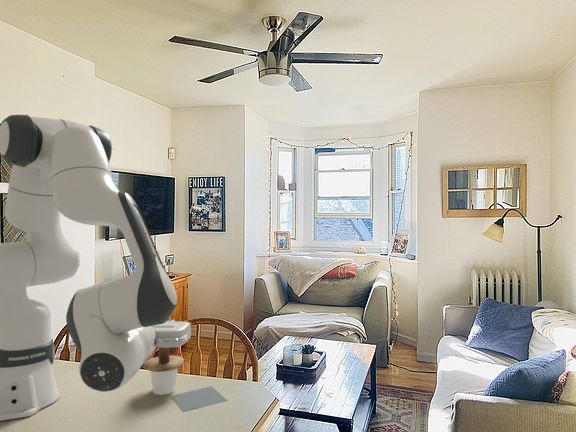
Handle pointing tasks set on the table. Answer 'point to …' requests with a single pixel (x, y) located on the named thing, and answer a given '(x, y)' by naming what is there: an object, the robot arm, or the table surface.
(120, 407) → the table surface
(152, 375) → the white cup
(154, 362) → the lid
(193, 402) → the mat
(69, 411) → the table surface
